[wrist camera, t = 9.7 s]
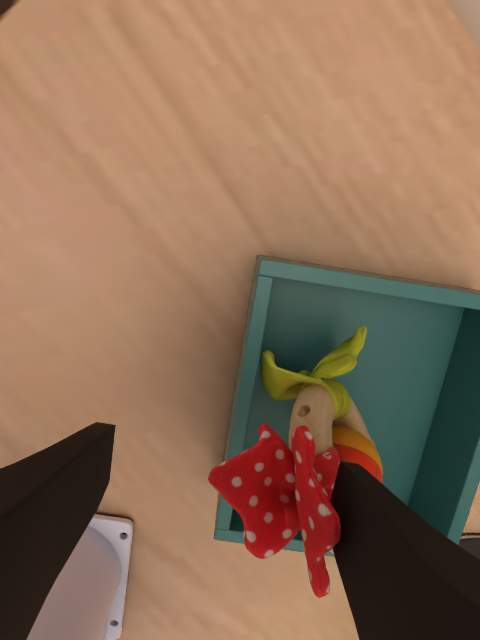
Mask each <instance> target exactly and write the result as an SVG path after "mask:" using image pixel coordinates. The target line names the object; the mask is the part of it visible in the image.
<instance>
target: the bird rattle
mask: <svg viewBox="0 0 480 640" xmlns="http://www.w3.org/2000/svg"><path fill="white" fill-rule="evenodd" d="M366 335H367V328H366V327H365V326H362V327H360V328H358V329H357V331H356V332H355V333H354V335H353V336H352V337H350V338H348V339H347V340H346V341H344V342H343V343H342V344H341V345H340V346H339V347H337V348H336V349H335V350H333V351H332V352H331V353H329V354H328V355H327V356H325V357H324V358H323V359H322V360H321V361H320V362H319V363H318V364H317V366H316V367H315V369H314V370H313V372H312V373H310V372H309V371H306V370H302V371H300V372H298V373H295V372H292V371H288V370H285V369H282V368H279V367H277V366H276V364H275V361H274V355H273V353H272V352H271V351H269V350H264V351H263V352H262V357H261V368H260V371H261V380H262V382H263V385H264V388H265V390H266V391H267V392H268V393H269V394H270V395H271V396H272V397H273V398H274V399H276V400H288V399H295V398H297V399H296V401H295V404H294V406H293V410H292V415H291V420H290V429H289V447H288V446H287V444H286V443H285V442H284V440H283V439H282V438H281V437H280V435H279V434H278V433H277V432H276V431H274V430H273V429H272V428H271V427H270V426H269V425H267V424H262V425H261V426H260V427H259V428H258V433H259V435H260V439H259V442H258V443H257V444H256V445H254V446H253V447H251V448H249V449H247V450H245V451H244V452H242V453H240V454H238V455H236V456H235V457H233V458H230V459H228V460H226V461H224V462H222V463H221V464H219V465H217V466H216V467H214V468H213V469H212V470H211V472H210V474H209V477H208V480H209V482H210V483H211V484H212V485H213V486H214V488H215V489H216V490H217V491H218V493H219V494H220V495H221V496H222V497H223V498H224V499H225V500H226V501H227V502H228V503H229V504H230V505H231V506H232V507H233V508H234V509H235V510H236V511H237V512H238V513H239V514H240V516H241V518H242V520H243V523H244V542H245V545H246V548H247V549H248V550H249V551H250V552H251V553H252V554H253V555H254V556H255V557H257V558H260V559H264V558H268V557H270V556H272V555H274V554H276V553H277V552H279V551H280V550H281V549H282V548H284V547H285V546H286V545H287V544H288V543H289V542H290V541H291V540H292V539H293V538H294V537H295V535H296V534H297V533H298V531H299V530H300V529H301V533H302V538H303V546H304V551H305V555H306V559H307V564H308V573H309V578H310V582H311V586H312V589H313V592H314V593H315V595H316V596H317V597H319V598H320V597H323V596H326V595H327V594H328V593H329V590H330V579H329V575H328V572H327V569H326V565H325V560H324V554H326V553H327V552H328V551H330V552H331V553H333V554H334V552H333V549H332V548H333V547H334V546H335V545H336V544H337V543H338V542H339V540H340V535H341V525H340V519H339V516H338V514H337V512H336V511H335V509H334V507H333V506H332V504H331V502H330V499H331V495H332V491H333V487H334V483H335V479H336V475H337V471H338V467H339V463H340V461H345V462H351V463H357V464H360V465H361V466H362V467H364V468H365V469H366V470H367V471H368V472H370V473H371V474H372V475H373V476H374V477H375V478H376V479H378V480H379V481H380V482H381V483H382V480H383V478H382V474H383V469H382V463H381V459H380V456H379V454H378V452H377V450H376V445H375V443H374V441H373V440H372V439H371V437H370V435H369V433H368V430H367V428H366V425H365V423H364V420H363V418H362V416H361V414H360V412H359V410H358V408H357V406H356V405H355V403H354V401H353V400H352V398H351V397H350V396H349V393H348V391H347V389H346V388H345V387H344V386H343V385H342V384H341V383H340V382H338V381H337V380H336V379H335V378H334V377H337V376H340V375H344V374H346V373H348V372H350V371H351V370H352V369H353V368H354V367H355V366H356V364H357V361H356V358H357V356H358V354H359V352H360V351H361V349H362V348H363V345H364V342H365V338H366Z"/></svg>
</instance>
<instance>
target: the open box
mask: <svg viewBox="0 0 480 640" xmlns="http://www.w3.org/2000/svg"><path fill="white" fill-rule="evenodd" d="M362 326H365V327H366V328H367V335H366V338H365V342H364V345H363V348H362V349H361V351H360V352H359V354H358V356H357V358H356V361H357V364H356V366H355V367H354V368H353V369H352V370H351V371H350V372H348V373H346V374H344V375H340V376H337V377H334V378H335V379H336V380H337V381H338V382H340V383H341V384H342V385H343V386H344V387H345V388H346V389H347V391H348V393H349V396H350V397H351V398H352V400H353V401H354V403H355V405H356V406H357V408H358V410H359V412H360V414H361V416H362V418H363V420H364V423H365V425H366V428H367V430H368V433H369V435H370V437H371V439H372V440H373V441H374V443H375V445H376V450H377V452H378V454H379V456H380V459H381V463H382V469H383V474H382V478H383V480H382V484H383V485H384V486H385V487H387V488H388V489H389V490H390V491H391V492H392V493H393V494H394V495H396V496H397V497H398V498H399V499H400V500H401V501H402V502H404V503H405V504H406V505H407V506H408V507H409V508H411V509H412V510H413V511H414V512H415V513H417V514H418V515H419V516H420V517H421V518H423V519H424V520H425V521H426V522H428V523H429V524H430V525H431V526H433V527H434V528H435V529H437V530H438V531H439V532H441V533H442V534H443V535H445V536H446V537H447V538H449V539H450V540H452V541H453V542H454V543H456V544H457V545H459V542H460V539H461V535H462V532H463V529H464V526H465V523H466V520H467V517H468V514H469V511H470V508H471V505H472V502H473V499H474V496H475V493H476V490H477V487H478V484H479V481H480V291H479V290H474V289H468V288H462V287H455V286H449V285H443V284H437V283H430V282H424V281H418V280H412V279H406V278H399V277H393V276H387V275H381V274H375V273H368V272H362V271H356V270H350V269H344V268H337V267H331V266H325V265H319V264H313V263H306V262H300V261H294V260H288V259H281V258H275V257H269V256H263V255H257V258H256V264H255V270H254V276H253V282H252V288H251V294H250V300H249V306H248V312H247V318H246V324H245V330H244V336H243V342H242V348H241V354H240V360H239V366H238V373H237V379H236V385H235V391H234V397H233V403H232V409H231V415H230V421H229V427H228V433H227V439H226V445H225V451H224V457H223V462H224V461H226V460H228V459H230V458H233V457H235V456H236V455H238V454H240V453H242V452H244V451H245V450H247V449H249V448H251V447H253V446H254V445H256V444H257V443H258V442H259V439H260V435H259V433H258V428H259V427H260V426H261V425H262V424H267V425H269V426H270V427H271V428H272V429H273V430H274V431H276V432H277V433H278V434H279V435H280V437H281V438H282V439H283V440H284V442H285V443H286V444H287V446H288V447H289V429H290V420H291V415H292V410H293V406H294V404H295V401H296V399H297V398H295V399H288V400H276V399H274V398H273V397H272V396H271V395H270V394H269V393H268V392H267V391H266V390H265V388H264V385H263V382H262V380H261V371H260V368H261V357H262V352H263V351H264V350H269V351H271V352H272V353H273V355H274V361H275V364H276V366H277V367H279V368H282V369H285V370H288V371H292V372H295V373H298V372H300V371H302V370H306V371H309V372H310V373H312V372H313V370H314V369H315V367H316V366H317V364H318V363H319V362H320V361H321V360H322V359H323V358H324V357H325V356H327V355H328V354H329V353H331V352H332V351H333V350H335V349H336V348H337V347H339V346H340V345H341V344H342V343H343V342H344V341H346V340H347V339H348V338H350V337H352V336H353V335H354V333H355V332H356V331H357V329H358V328H360V327H362ZM214 539H215V540H221V541H228V542H235V543H242V544H245V542H244V523H243V520H242V518H241V516H240V514H239V513H238V512H237V511H236V510H235V509H234V508H233V507H232V506H231V505H230V504H229V503H228V502H227V501H226V500H225V499H224V498H223V497H222V496H221V495H220V494H219V493H218V501H217V511H216V522H215V532H214ZM282 549H285V550H292V551H299V552H305V551H304V546H303V538H302V533H301V529H300V530H299V531H298V533H297V534H296V535H295V537H294V538H293V539H292V540H291V541H290V542H289V543H288V544H287V545H286V546H285V547H284V548H282ZM324 555H327V556H334V554H333V553H331V552H330V551H328V552H327V553H326V554H324ZM334 557H335V556H334Z"/></svg>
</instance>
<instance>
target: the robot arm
mask: <svg viewBox="0 0 480 640" xmlns="http://www.w3.org/2000/svg"><path fill="white" fill-rule="evenodd" d="M114 434H115V425H111V424H105V423H98V422H96V423H94V424H92V425H90V426H88V427H86V428H84V429H82V430H80V431H78V432H76V433H75V434H73V435H71V436H69V437H67V438H65V439H63V440H61V441H59V442H58V443H56V444H54V445H52V446H50V447H48V448H46V449H44V450H42V451H40V452H37V453H35V454H33V455H31V456H29V457H27V458H25V459H22V460H20V461H18V462H16V463H13V464H11V465H9V466H6V467H4V468H1V469H0V640H104V639H107V640H117V639H118V638H119V637H120V635H121V632H122V624H123V616H124V607H125V598H126V589H127V581H128V572H129V563H130V554H131V546H132V537H133V528H134V524H133V522H132V521H131V520H129V519H126V518H119V517H112V516H105V515H98V514H95V513H96V511H97V509H98V507H99V504H100V502H101V500H102V498H103V495H104V493H105V490H106V488H107V486H108V483H109V480H110V470H111V461H112V452H113V443H114ZM330 502H331V504H332V506H333V507H334V509H335V511H336V512H337V514H338V516H339V519H340V525H341V535H340V540H339V542H338V543H337V544H336V545H335V546H334V547H333V548H332V549H333V552H334V556H335V559H336V562H337V566H338V569H339V572H340V576H341V579H342V582H343V585H344V589H345V592H346V595H347V598H348V602H349V605H350V608H351V611H352V615H353V618H354V621H355V625H356V629H357V632H358V636H359V640H480V559H478V558H476V557H475V556H473V555H472V554H470V553H469V552H467V551H466V550H465V549H463V548H462V547H460V546H459V545H457V544H456V543H454V542H453V541H452V540H450V539H449V538H447V537H446V536H445V535H443V534H442V533H441V532H439V531H438V530H437V529H435V528H434V527H433V526H431V525H430V524H429V523H428V522H426V521H425V520H424V519H423V518H421V517H420V516H419V515H418V514H417V513H415V512H414V511H413V510H412V509H411V508H409V507H408V506H407V505H406V504H405V503H404V502H402V501H401V500H400V499H399V498H398V497H397V496H396V495H394V494H393V493H392V492H391V491H390V490H389V489H388V488H387V487H385V486H384V485H383V484H382V483H381V482H380V481H379V480H378V479H376V478H375V477H374V476H373V475H372V474H371V473H370V472H368V471H367V470H366V469H365V468H364V467H362V466H361V465H360V464H357V463H351V462H345V461H340V463H339V467H338V471H337V475H336V479H335V483H334V487H333V491H332V495H331V499H330ZM123 532H124V533H126V534H127V535H124V534H123Z"/></svg>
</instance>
